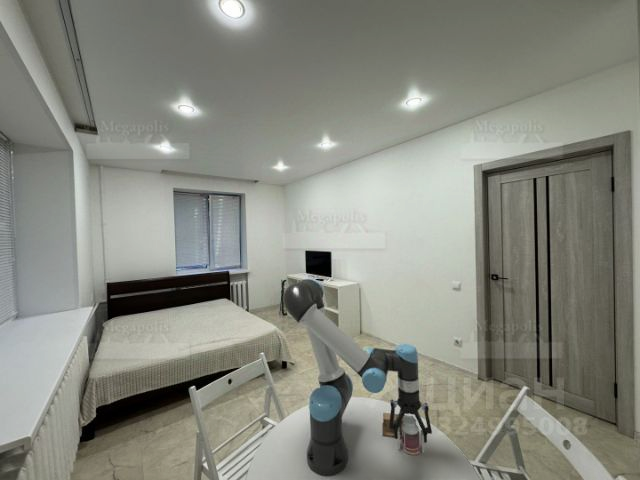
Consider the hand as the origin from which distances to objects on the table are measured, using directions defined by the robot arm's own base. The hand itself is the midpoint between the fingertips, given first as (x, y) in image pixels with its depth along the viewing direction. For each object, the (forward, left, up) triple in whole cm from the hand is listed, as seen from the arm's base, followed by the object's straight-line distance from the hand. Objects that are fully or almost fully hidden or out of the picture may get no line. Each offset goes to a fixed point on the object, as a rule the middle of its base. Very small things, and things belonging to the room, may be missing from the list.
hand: (410, 448), depth 100 cm
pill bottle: (0, 0, -1) cm, 1 cm away
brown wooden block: (-4, +8, 0) cm, 9 cm away
